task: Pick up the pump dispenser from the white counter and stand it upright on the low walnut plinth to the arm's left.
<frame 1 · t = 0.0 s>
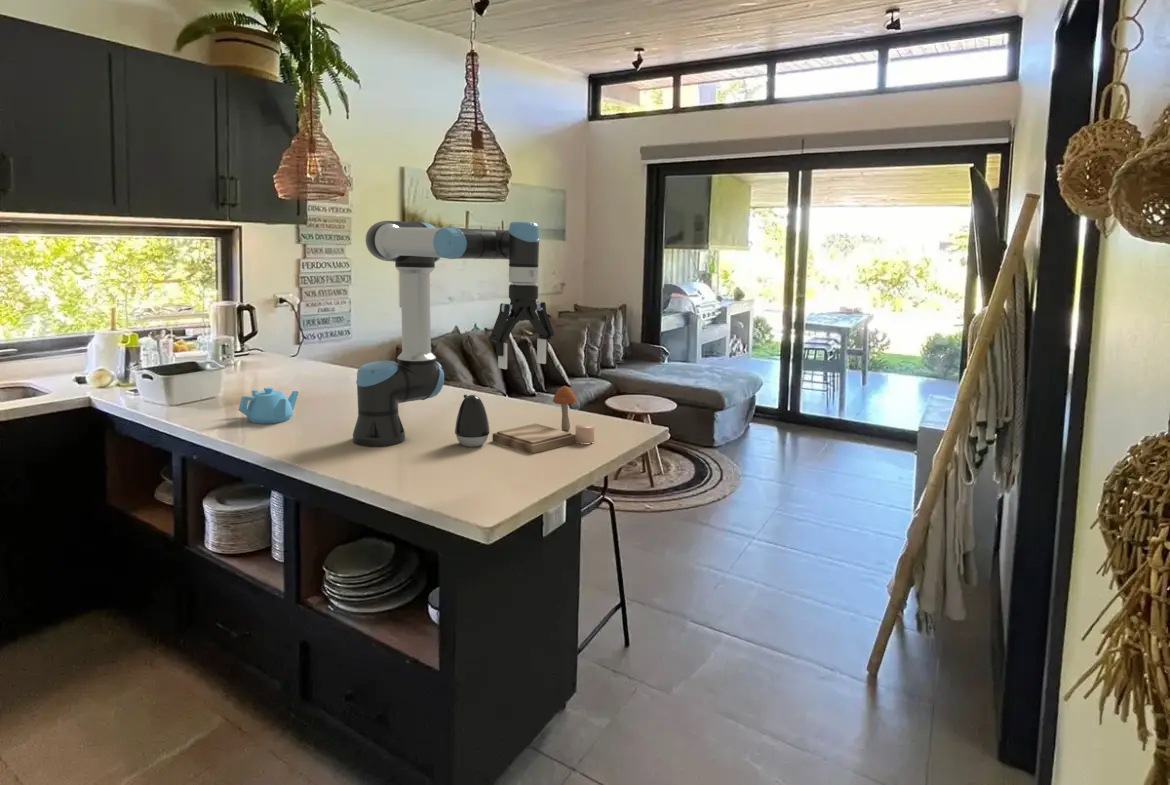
hand: (522, 365, 188), 28 cm above the worktop, fingers open, 13 cm apart
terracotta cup: (584, 442, 222), on the worktop
pump dispenser: (472, 445, 215), on the worktop
walnut plinth: (534, 441, 220), on the worktop
mushroom: (564, 430, 235), on the worktop
teapot: (271, 420, 238), on the worktop
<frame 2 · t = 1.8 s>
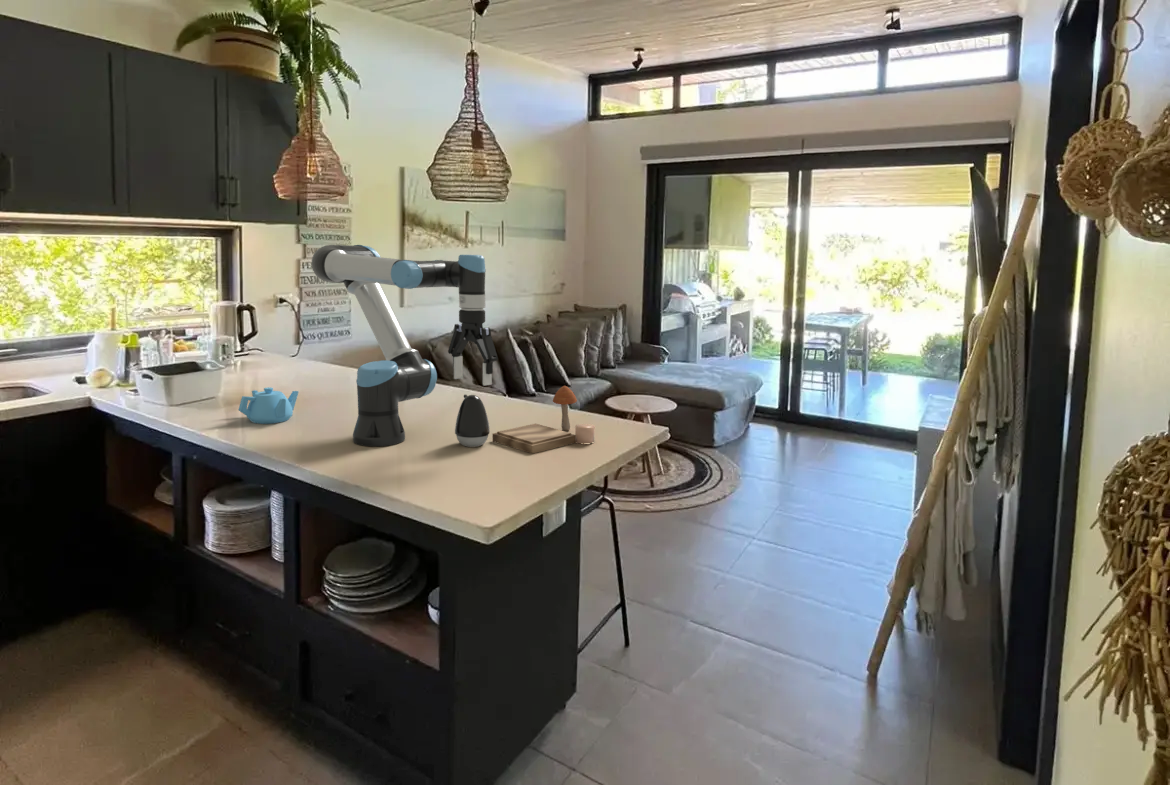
hand: (472, 381, 211), 19 cm above the worktop, fingers open, 13 cm apart
nothing on the worktop moved.
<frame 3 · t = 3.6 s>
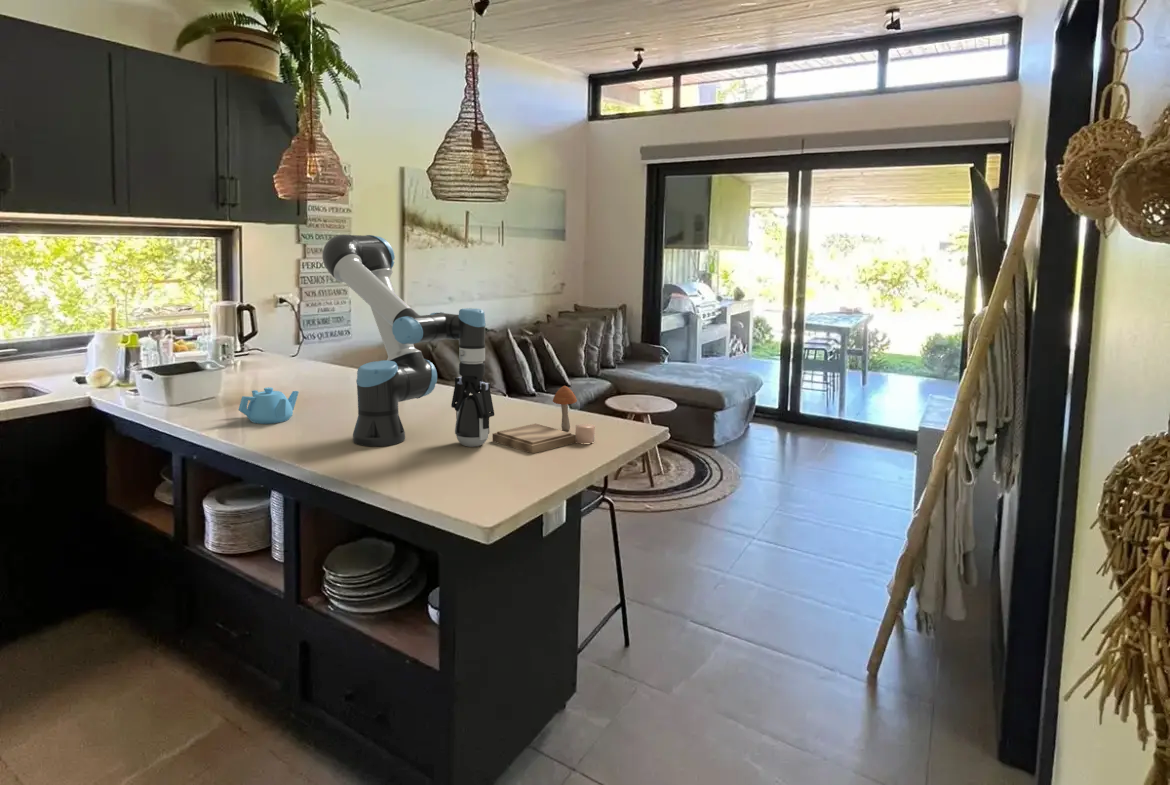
hand: (472, 435, 215), 3 cm above the worktop, fingers closed on pump dispenser, 10 cm apart
pump dispenser: (472, 445, 215), on the worktop, touching gripper
everything else where it was.
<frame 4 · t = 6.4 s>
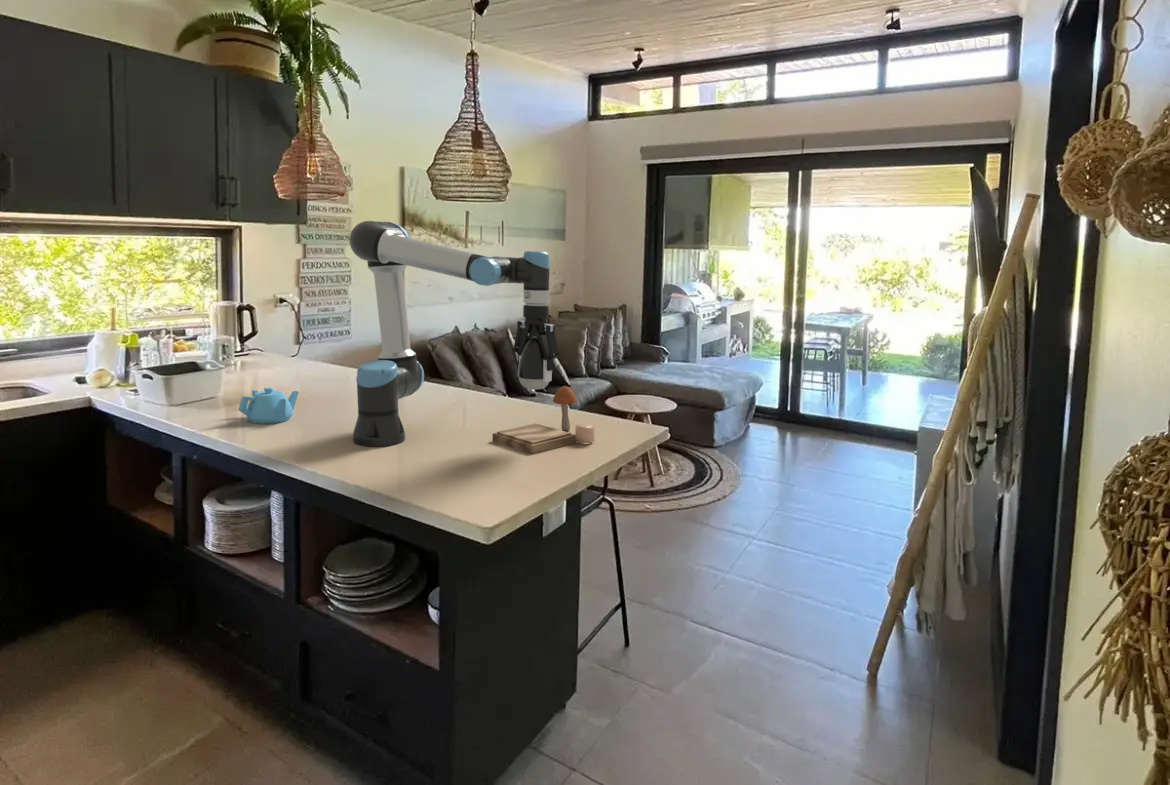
hand: (535, 378, 216), 20 cm above the worktop, fingers closed on pump dispenser, 10 cm apart
pump dispenser: (534, 388, 217), point 17 cm above the worktop, touching gripper
everything else where it was.
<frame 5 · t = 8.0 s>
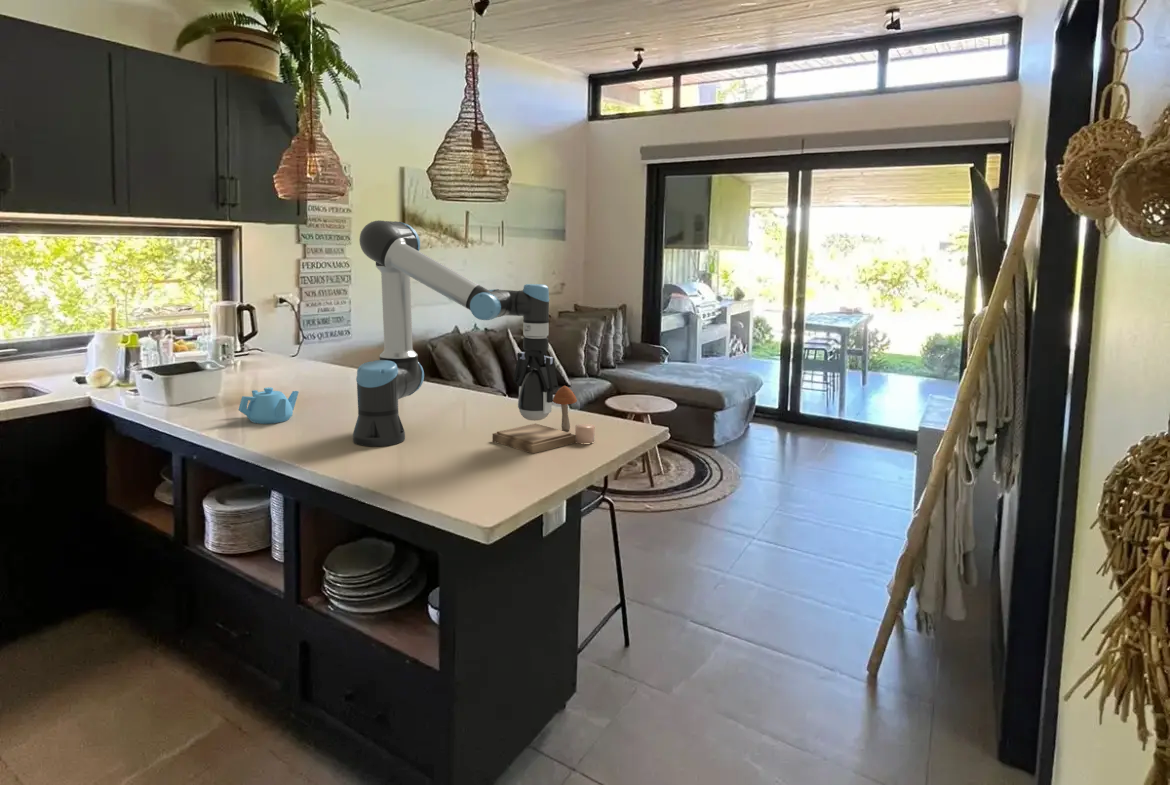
hand: (535, 409, 218), 10 cm above the worktop, fingers closed on pump dispenser, 10 cm apart
pump dispenser: (534, 419, 219), point 7 cm above the worktop, touching gripper
everything else where it was.
when the fingers open (7 cm above the worktop, at t = 9.2 s): pump dispenser drops 1 cm, resting on walnut plinth.
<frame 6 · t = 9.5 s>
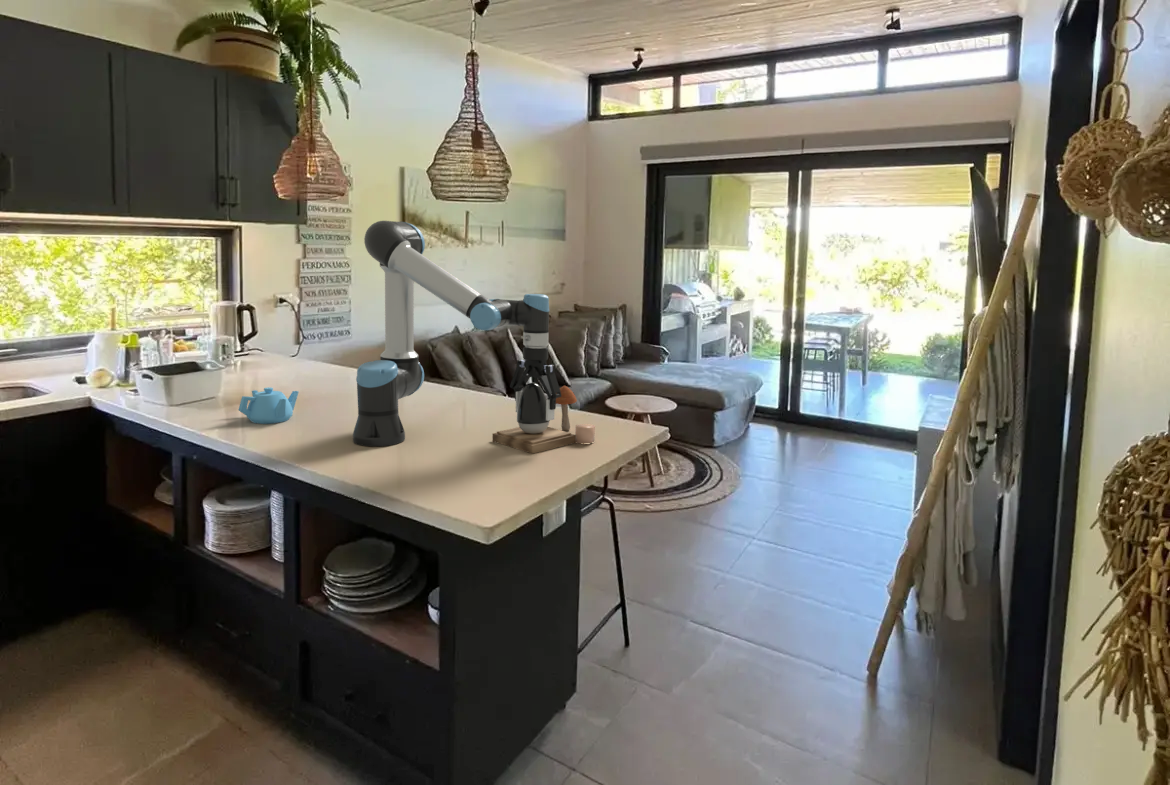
hand: (534, 415, 218), 8 cm above the worktop, fingers open, 13 cm apart
pump dispenser: (534, 432, 219), point 3 cm above the worktop, touching walnut plinth
everything else where it was.
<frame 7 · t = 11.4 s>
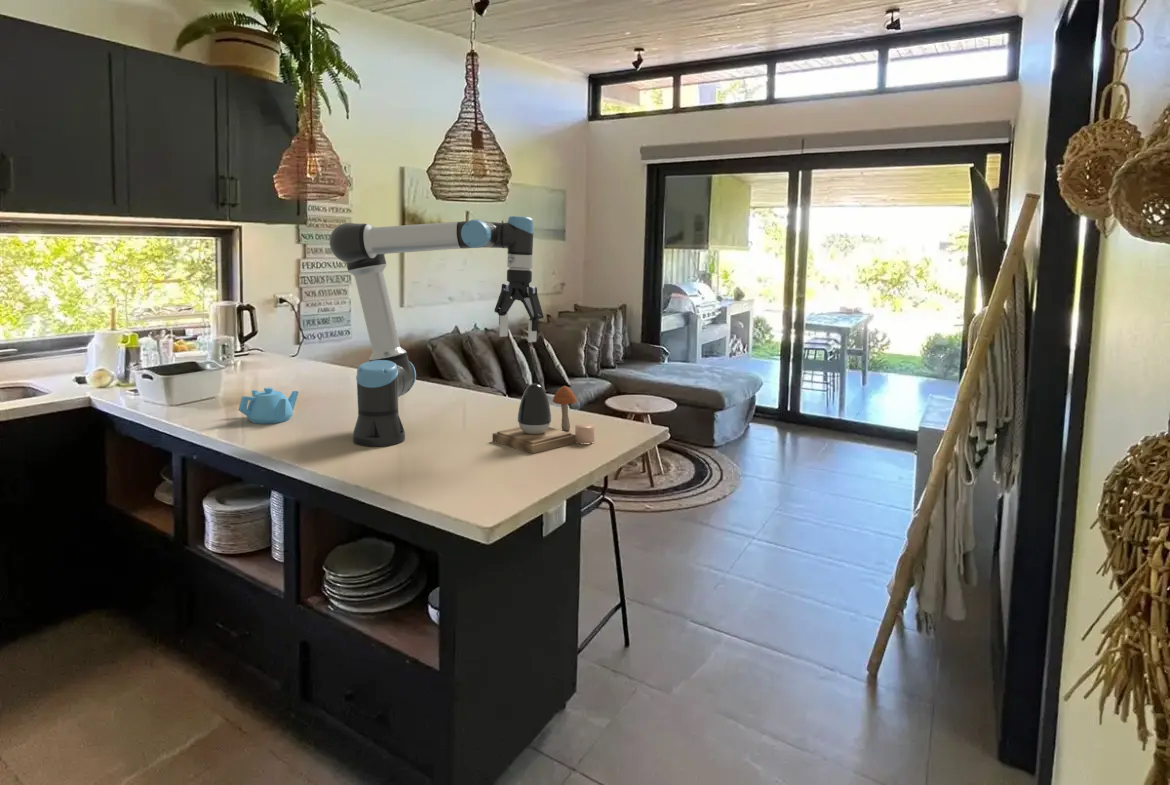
hand: (517, 339, 221), 31 cm above the worktop, fingers open, 13 cm apart
nothing on the worktop moved.
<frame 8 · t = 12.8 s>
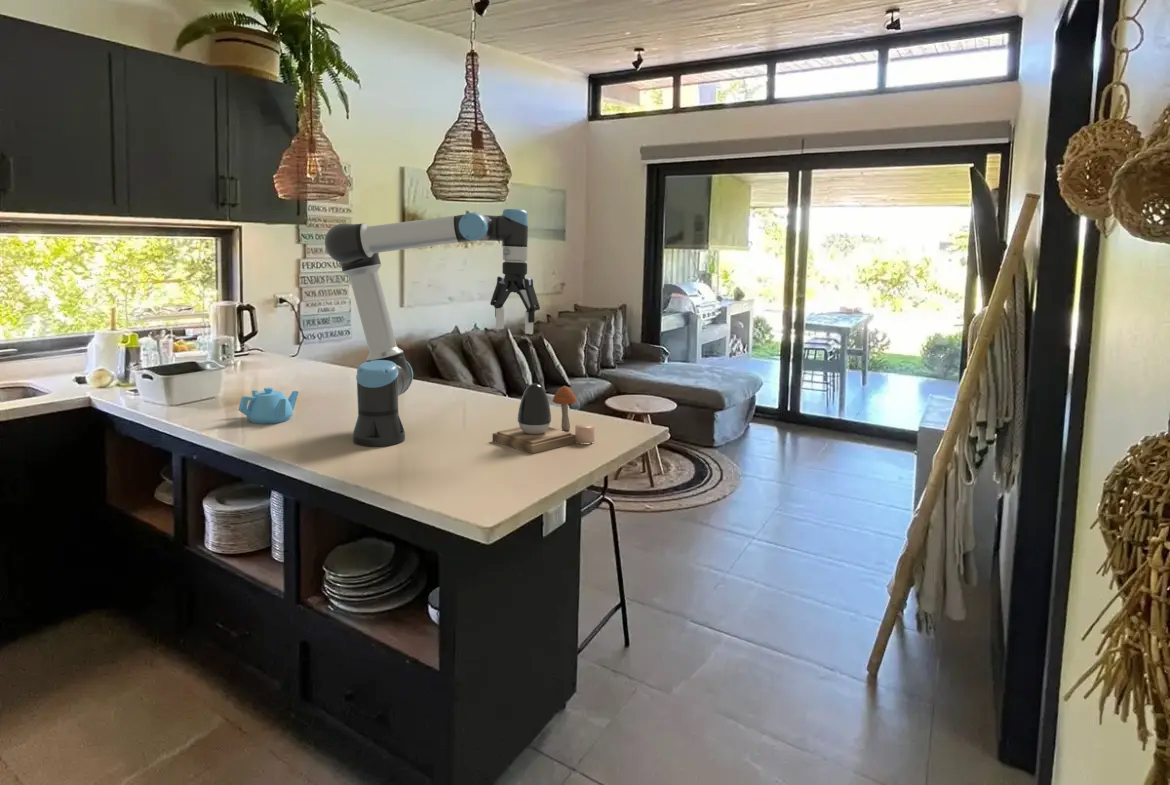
hand: (514, 331, 223), 33 cm above the worktop, fingers open, 13 cm apart
nothing on the worktop moved.
at the end: pump dispenser inside the target area on the walnut plinth (0.1 cm from its centre), point 2.8 cm above the walnut plinth's base; pump dispenser tilted 0°; the gripper is holding nothing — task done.
